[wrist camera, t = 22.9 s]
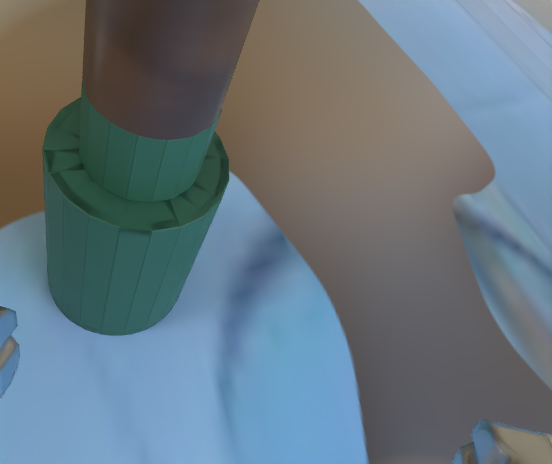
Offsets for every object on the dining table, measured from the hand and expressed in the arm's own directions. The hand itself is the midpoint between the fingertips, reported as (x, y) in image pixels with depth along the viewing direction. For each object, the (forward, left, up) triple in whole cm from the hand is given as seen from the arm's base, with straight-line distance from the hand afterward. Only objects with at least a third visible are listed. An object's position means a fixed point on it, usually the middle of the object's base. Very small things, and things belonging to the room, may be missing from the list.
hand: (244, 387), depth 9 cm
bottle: (+1, -13, -21) cm, 25 cm away
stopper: (+1, -13, -9) cm, 16 cm away
